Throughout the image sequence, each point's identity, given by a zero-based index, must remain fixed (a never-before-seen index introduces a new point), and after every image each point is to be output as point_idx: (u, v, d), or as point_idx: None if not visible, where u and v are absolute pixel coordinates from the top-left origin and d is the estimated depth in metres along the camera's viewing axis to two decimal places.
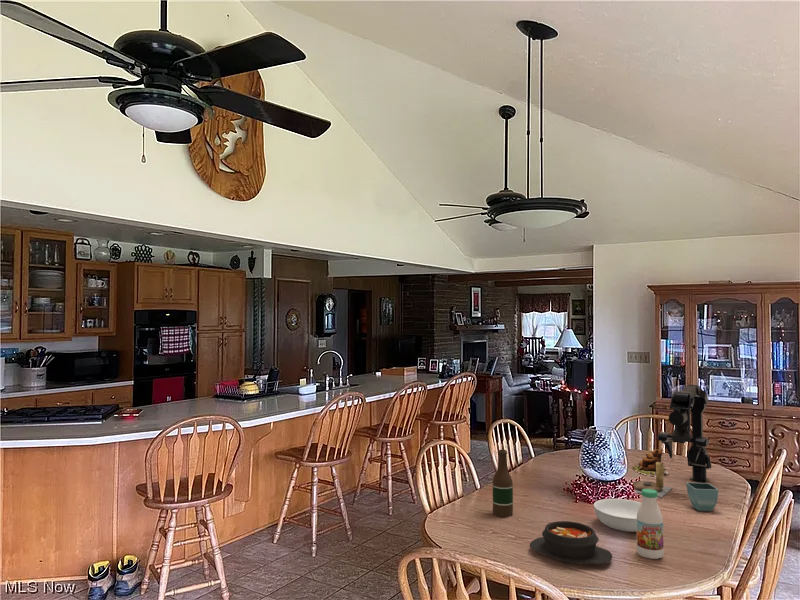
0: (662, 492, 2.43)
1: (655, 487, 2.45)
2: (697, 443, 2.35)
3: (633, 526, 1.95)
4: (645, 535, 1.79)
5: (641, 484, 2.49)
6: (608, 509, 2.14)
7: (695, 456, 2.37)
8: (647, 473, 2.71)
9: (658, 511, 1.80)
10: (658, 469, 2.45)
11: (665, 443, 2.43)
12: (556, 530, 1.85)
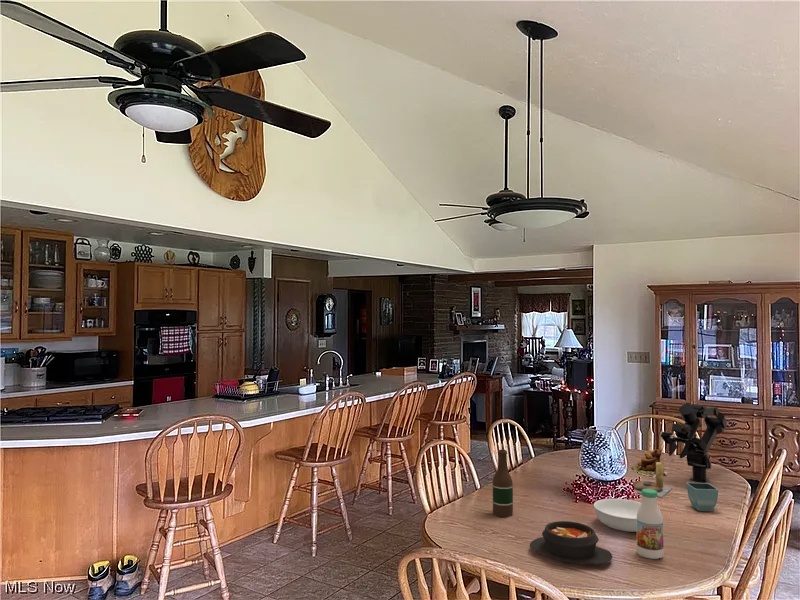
0: (662, 492, 2.43)
1: (655, 487, 2.45)
2: (693, 439, 2.48)
3: (633, 526, 1.95)
4: (645, 535, 1.79)
5: (641, 484, 2.49)
6: (608, 509, 2.14)
7: (682, 452, 2.49)
8: (646, 473, 2.71)
9: (658, 511, 1.80)
10: (658, 469, 2.45)
11: (669, 439, 2.57)
12: (556, 530, 1.85)
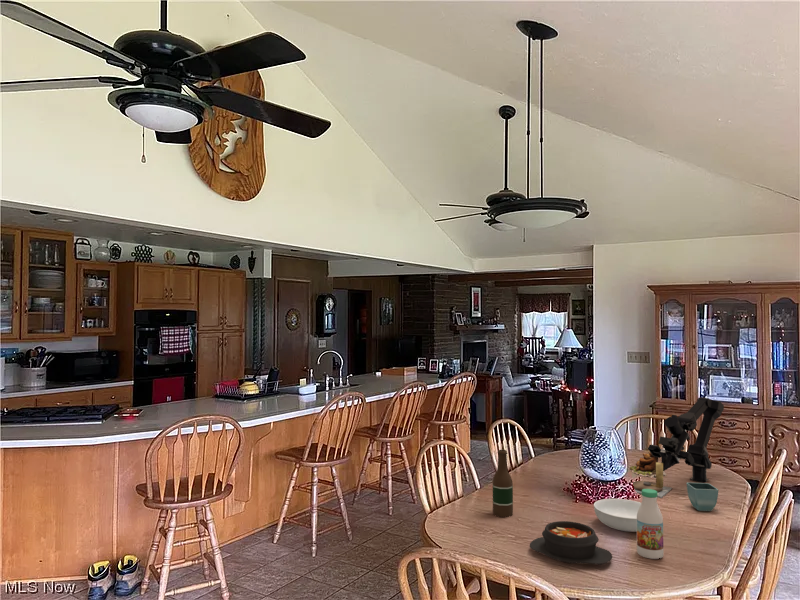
0: (662, 492, 2.43)
1: (655, 487, 2.45)
2: (680, 453, 2.43)
3: (633, 526, 1.95)
4: (645, 535, 1.79)
5: (641, 484, 2.49)
6: (608, 509, 2.14)
7: (664, 464, 2.47)
8: (644, 473, 2.70)
9: (658, 511, 1.80)
10: (658, 469, 2.45)
11: (662, 453, 2.50)
12: (556, 530, 1.85)
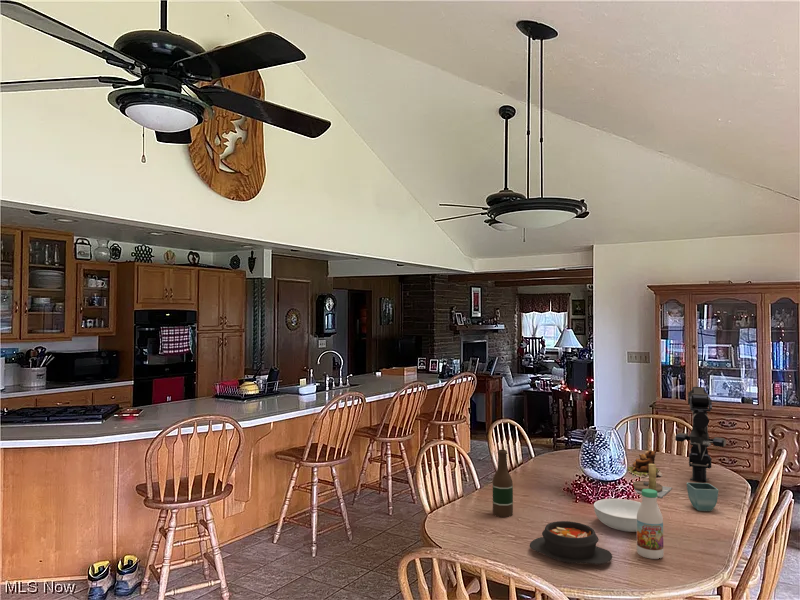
0: (662, 492, 2.43)
1: (645, 487, 2.45)
2: (715, 443, 2.42)
3: (633, 526, 1.95)
4: (645, 535, 1.79)
5: None
6: (608, 509, 2.14)
7: (701, 454, 2.47)
8: (639, 474, 2.69)
9: (658, 511, 1.80)
10: None
11: (694, 445, 2.47)
12: (556, 530, 1.85)
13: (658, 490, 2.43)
